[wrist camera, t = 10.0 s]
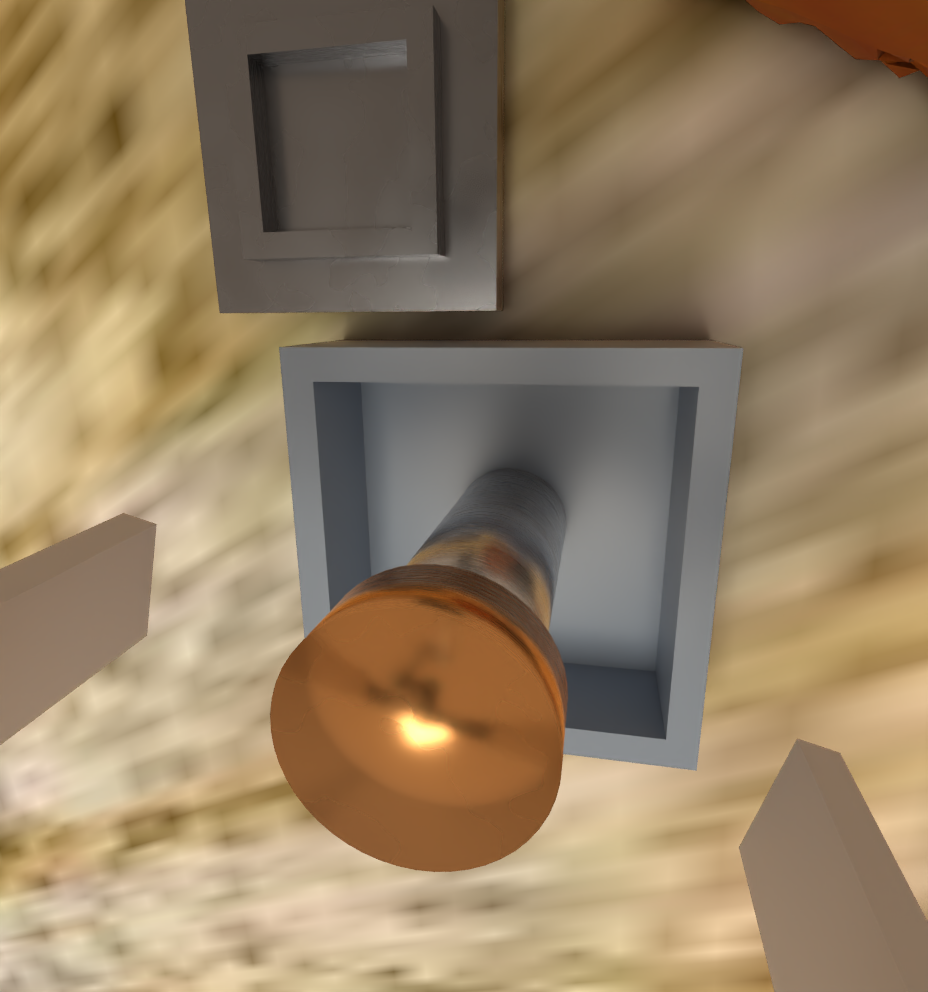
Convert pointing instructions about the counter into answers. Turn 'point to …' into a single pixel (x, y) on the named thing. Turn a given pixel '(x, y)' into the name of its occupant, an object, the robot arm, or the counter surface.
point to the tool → (864, 27)
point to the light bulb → (438, 690)
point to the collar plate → (352, 152)
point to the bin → (561, 463)
